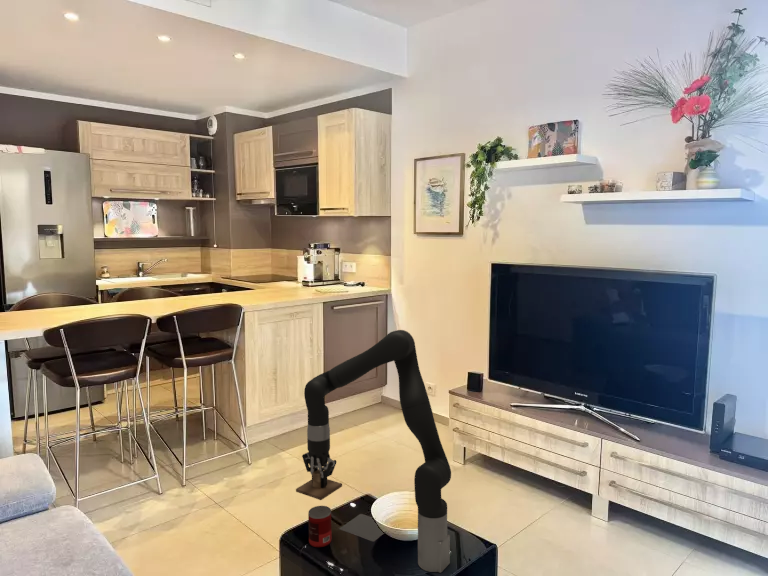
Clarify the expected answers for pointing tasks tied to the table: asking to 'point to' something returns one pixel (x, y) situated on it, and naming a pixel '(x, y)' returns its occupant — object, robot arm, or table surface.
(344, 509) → the table surface
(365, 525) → the mat
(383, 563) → the table surface
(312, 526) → the canned food
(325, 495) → the lid
